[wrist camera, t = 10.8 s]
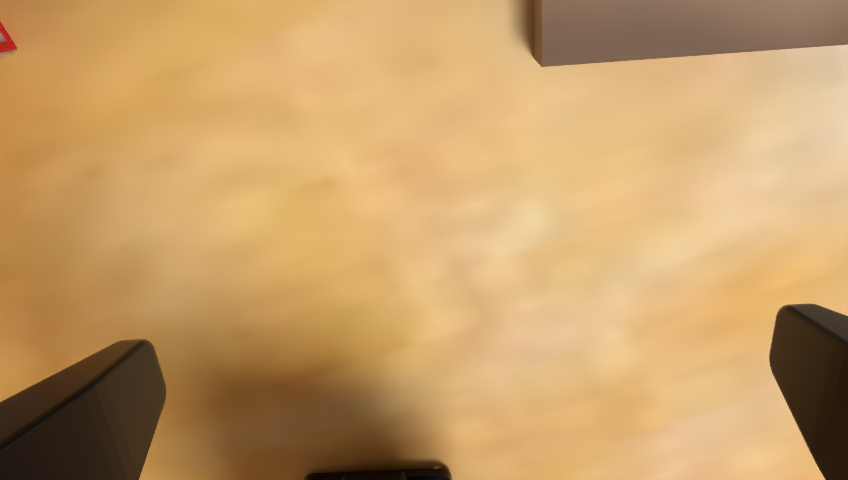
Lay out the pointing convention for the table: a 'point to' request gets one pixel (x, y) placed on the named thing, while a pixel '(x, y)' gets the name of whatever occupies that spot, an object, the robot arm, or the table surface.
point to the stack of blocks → (6, 43)
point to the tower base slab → (680, 28)
